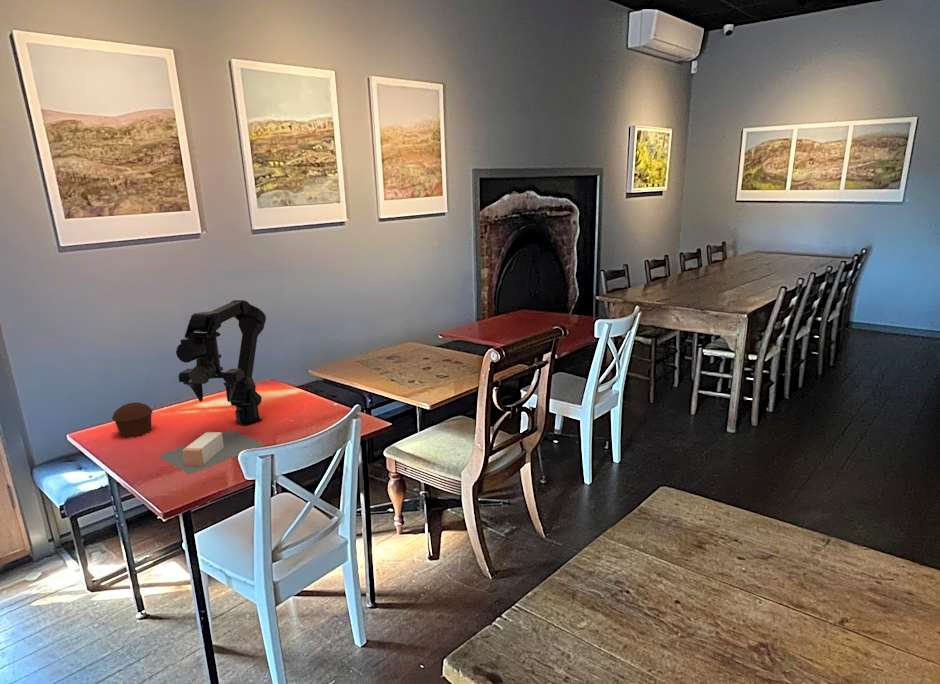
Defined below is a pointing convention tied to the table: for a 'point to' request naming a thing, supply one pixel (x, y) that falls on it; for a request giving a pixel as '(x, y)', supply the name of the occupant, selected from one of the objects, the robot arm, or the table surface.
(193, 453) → the cream block
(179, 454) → the charcoal mat
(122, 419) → the muffin
